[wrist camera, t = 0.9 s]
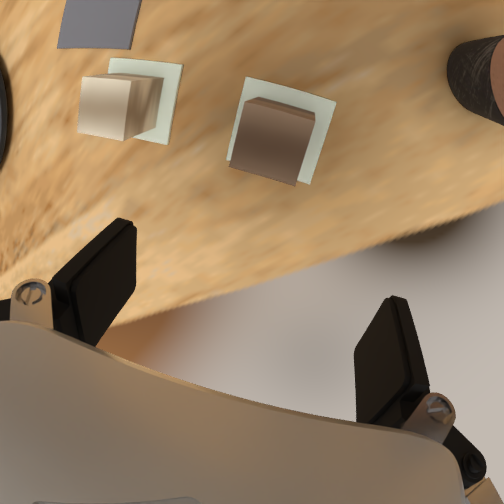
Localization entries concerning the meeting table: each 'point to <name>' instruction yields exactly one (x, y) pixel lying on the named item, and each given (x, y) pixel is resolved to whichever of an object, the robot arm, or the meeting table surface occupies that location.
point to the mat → (98, 24)
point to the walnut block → (272, 139)
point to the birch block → (118, 105)
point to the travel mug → (479, 77)
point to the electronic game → (2, 116)
